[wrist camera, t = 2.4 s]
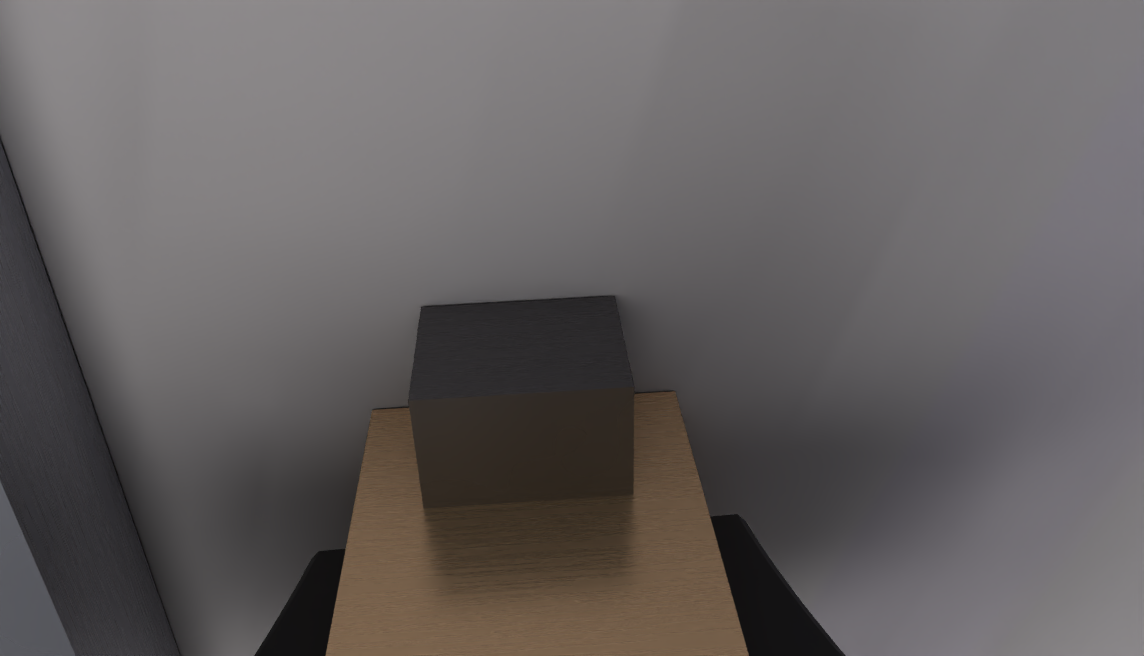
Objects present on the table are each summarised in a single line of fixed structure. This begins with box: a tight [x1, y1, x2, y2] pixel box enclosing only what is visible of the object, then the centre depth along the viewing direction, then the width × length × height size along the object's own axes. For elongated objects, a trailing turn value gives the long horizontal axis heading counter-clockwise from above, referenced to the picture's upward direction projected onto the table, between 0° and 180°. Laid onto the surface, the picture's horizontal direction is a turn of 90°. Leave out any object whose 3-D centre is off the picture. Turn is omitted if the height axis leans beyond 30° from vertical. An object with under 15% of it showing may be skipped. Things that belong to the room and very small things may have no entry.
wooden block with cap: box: [326, 296, 749, 656], centre depth 11 cm, size 4×6×5 cm
